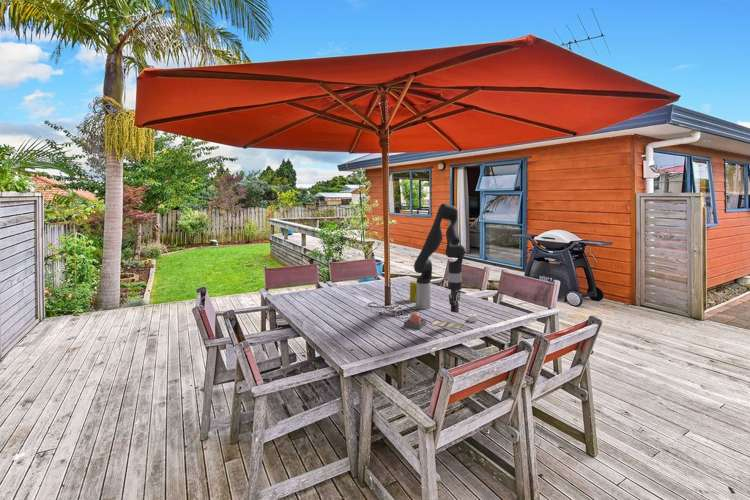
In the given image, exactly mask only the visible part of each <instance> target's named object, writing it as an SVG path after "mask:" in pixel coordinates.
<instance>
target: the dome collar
mask: <svg viewBox="0 0 750 500" xmlns="http://www.w3.org/2000/svg"><path fill="white" fill-rule="evenodd" d="M425 326H427V319H426V318H421V322H420V323H414V322H410V317H409V318H408V319H406V320H404V321H403V327H405V328H409V329H415V330H421V329H422V328H424V327H425Z"/></svg>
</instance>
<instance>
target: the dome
mask: <svg viewBox="0 0 750 500" xmlns="http://www.w3.org/2000/svg"><path fill="white" fill-rule="evenodd" d="M409 318H410V322H414V323H420V322H421V319H422V318H421V315H420V314H419V313H418V312H413V313H412V314H410V316H409Z"/></svg>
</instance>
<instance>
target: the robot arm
mask: <svg viewBox="0 0 750 500" xmlns="http://www.w3.org/2000/svg"><path fill="white" fill-rule="evenodd" d="M443 220H446V221H450V222H451V223H450V225H449V226H448V227H447V229H446V231H445V238H446V246H445V251H444V252H445V256H446V257H447V258H452V259H453V258H455V259H456V258H457V259H456V260H455V261H450V262H449V263H448V276H447V288H448V290H450V293H449V295H448V300H449V301H448V303H449V305H450V312H451V311H452V312H451V313H454V312H455V305H456V301H457V300H458V303H459V302H460V301H461V294H462V293H461V290H462V289H463V284H462V283H463V274H462V266H463V261H464V257H465V253H466V248H465V246H464V245H462V244H460V242H461V241H460V235H459V228H458V227H459V225H458V224H459V211H458V208H457V207H456V206H455V205H453V204H452V205H451V204H448V203H441V204H440V205H439V207H438V209H437V212H436V215H435V217H434V221H433V223H432V226H431V228H430V231H429V232H428V235H427V237H426V238H425V242H424V243H423V247H422V249H420V253H419V254H418V256H417V258H416V260H415V261H414V264H413V269H414V272H416V273H418V274H420V276H418V277H417V278H416V281H417V293H416V301H415V308H417V309H418V310H419V309H420V310H428V309H431V280H432V279H433V278H432V276H433V274H432V273H433V263H432V261H431V259H429V258H430V257H431V255H433V254H434V253H435V252H436V251H437V250H438V249H439V247H440V245H441V243H442V242H443V241H442V240H443V232H442V228H441V223H442V221H443ZM454 299H455V300H454ZM452 301H453V303H452ZM459 304H460V303H459Z"/></svg>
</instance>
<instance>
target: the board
mask: <svg viewBox="0 0 750 500" xmlns="http://www.w3.org/2000/svg"><path fill="white" fill-rule="evenodd" d="M428 325H429V326H433V327H441V328H446V329H447V328H448V329H451V330H452V329H454V330H460V329H462V328H463V327H464V326H465V324H463V323H457V322H450V321H443V320H439V319H434V320H433V321H432V322H430V323H429V324H428Z"/></svg>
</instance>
